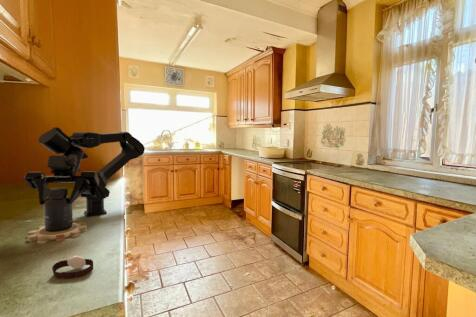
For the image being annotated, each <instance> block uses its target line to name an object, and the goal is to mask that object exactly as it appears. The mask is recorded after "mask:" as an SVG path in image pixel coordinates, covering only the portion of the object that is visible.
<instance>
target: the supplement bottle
mask: <svg viewBox="0 0 476 317" xmlns="http://www.w3.org/2000/svg"><path fill="white" fill-rule="evenodd" d="M68 191H69V190H68V187H63V186H62V187H52V188H50V189H48V190H47V197H48V198H46V200H45V201H44V203H43V220H44V222H43V224H44V225H45V230H46V231H48V232H58V231H63V230H66V229H69V228H70V227H72V225H73V221H74V220H73V219H74V218H73V203H72V204H70V203H69V200H70V196H68V195H69V192H68Z"/></svg>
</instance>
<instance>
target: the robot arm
mask: <svg viewBox="0 0 476 317" xmlns="http://www.w3.org/2000/svg"><path fill="white" fill-rule="evenodd" d="M37 141H38V143H39V144H41V145H42V146H43V147H45V148H46V149H48V150H49V151H51V152H52V153H53V154H55V155H49V156H48V158H47V162H46V167H47V168H49V169H50V173H51V174H54V175H46V174H45V173H44V172H43V171H28V172H26V173H25V175H24V177H23V180H24V181H25V182H26V183H27V185H28V186H29V187H30V189H33V190H38V201H39V205H41V206H44V201H45V200H46V199H47V197H48V196H47V190H48V189H51V188H50V187H49V183H51V184H52V183H59V184H68V183H69V184H73V183H74V186H73V189H72V191H71V194H70V196H69V197H70V200H69V203H70V204H72V205H73V203H74V202H75V201H76V200H77V199H78V198H79V197H81V198H85V201H86V203H85V204H86V209H85V210H84V214H85V216H86V217H92V216H98V215H99V216H100V215H105V214H107V211H106V209H105V199H107V198H109V196H110V194H111V192H110V190H109V189H108V188H107V185H108V181H109V180H111V177H113V176H115V174H116V173H117V172H119V171H120V170H121V169H122V168H123V167H124V166H125V165H127V164H128V163H129V162H130V161H132V160H135V159H138V158H140V157H141V156H143V155H144V153H145V150H146V148H145V145H144V144H143V143H142V142H141V141H140V140H138V138H136V137H134V136H133V135H132V134H131V133H130V132H128V131H119V132H107V133H103V132H101V133H99V132H93V131H74V132H72V134H71V135H67V134H66V133H65V132H63V130H62V129H61V128H59V127H58V126H57V127H56V126H55V127H52V128H51V129H49V130H48V131H47V130H46V132H44V133H42V134H41V135H40V136H39V138H38V140H37ZM109 143H119V147H120V148H121V152H120V153H119V154H118V155H116V156H115V157H114V158H113V159H112V160H110V161H109V162H107V163H106V164H105V165H104V166H103V167H102V168H100V169H99V170H98V171H97V172H96V171H95V170H92V171H91V170H88V171H87V170H84V171H83V170H82V171H81V168H80V166H81V162H82V161H83V160H85V159H88V158H89V155H88V153H86V151H84V150H83V149H95V148H96V147H99V146H101V145H103V144H109ZM58 154H61V155H58ZM80 171H81V172H80ZM79 172H80V175H78V173H79Z"/></svg>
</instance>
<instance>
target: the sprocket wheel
mask: <svg viewBox="0 0 476 317" xmlns="http://www.w3.org/2000/svg"><path fill="white" fill-rule="evenodd" d="M36 228H37V229H35V230H33V229H32V230H29V231H28V232H27V236H26V237H27V238H26V240H27V242H29V243H31V242H35V241H36V242H37V244H46V243H48V242H49V241H56V243H58V242H64V241H65V240H66V238H70V237H71V238H72V237H73V238H77V237H79V236H81V235H82V234H81V233H82V232H87V231H88V225H87V223H86V222H84V221H80V222H77V220H73V225H72V227H70V228H69V229H66V230H63V231H58V232H48V231H46V230H45V225H40V226H38V227H36Z"/></svg>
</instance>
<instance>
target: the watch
mask: <svg viewBox="0 0 476 317" xmlns="http://www.w3.org/2000/svg"><path fill="white" fill-rule="evenodd" d="M85 266H88V267H86V268H84V267H85ZM65 267H70V268H72V269H77V270H76V271H68V272H67V271H66V272H65V271H62V272H58V270H59V269H61V268H65ZM82 268H84V269H82ZM78 269H82V270H78ZM51 270H52V273H53V277H55V278H56V277H57V278H56V279H61V278H64V279H63V280H67V279H69V280H70V279H75V278H76V277H77V278H82V277H85V276H87V275H89V274H90V273H92V271H94V261H93V260H92V259H90V258H85V257H83V256H81V255H76V254H75V255H74V256H71V257H70V258H69V259H64V260H60V261H58V262H56V263H54V264H52V268H51Z"/></svg>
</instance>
